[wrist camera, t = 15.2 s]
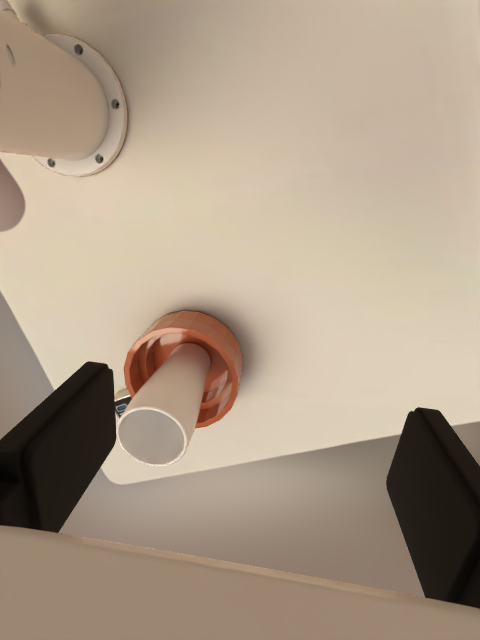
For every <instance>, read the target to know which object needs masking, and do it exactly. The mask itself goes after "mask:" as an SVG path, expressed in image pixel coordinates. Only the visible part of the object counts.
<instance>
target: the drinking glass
mask: <svg viewBox="0 0 480 640" xmlns="http://www.w3.org/2000/svg"><path fill="white" fill-rule="evenodd" d="M210 367H211V361H210V357H209V355H208V353H207V352H206V350H205V349H204V348H202V347H201V346H199V345H197V344H193V343H184V344H181V345H179V346H177V347H176V348H175V349H174V350H173V351H172V353H171V354H170V356H169V357H168V358H167V359H166V360H165V361H164V363H163V364H162V365H161V366H160V367H159V368H158V369H157V370H156V371H155V373H154V374H153V375H152V376H151V377H150V378H149V379H148V380H147V381H146V382H145V384H144V385H143V386H142V387H141V388H140V389H139V390H138V392H137V393H136V394H135V396H134V397H133V398H132V400H131V401H130V403H129V404H128V406H127V407H126V409H125V411H124V412H123V414H122V416H121V417H120V419H119V421H118V423H117V428H116V434H117V439H118V441H119V444H120V445H121V447H122V448H123V450H124V451H125V452H126V453H127V454H128V455H129V456H131V457H132V458H133V459H135V460H137V461H139V462H141V463H143V464H147V465H151V466H165V465H169V464H172V463H174V462H176V461H177V460H179V459H180V458H181V457H182V456H183V455H184V453H185V451H186V449H187V447H188V444H189V442H190V440H191V437H192V435H193V432H194V429H195V426H196V423H197V420H198V416H199V412H200V407H201V403H202V398H203V393H204V389H205V384H206V380H207V376H208V373H209V370H210Z"/></svg>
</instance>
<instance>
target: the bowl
mask: <svg viewBox="0 0 480 640" xmlns="http://www.w3.org/2000/svg"><path fill="white" fill-rule="evenodd" d="M184 343H193V344H197V345H199V346H201V347H202V348H204V349H205V350H206V352H207V353H208V355H209V357H210V361H211V367H210V370H209V373H208V376H207V380H206V384H205V389H204V393H203V398H202V403H201V407H200V412H199V416H198V420H197V423H196V426H195V428H200V427H206V426H209V425H211V424H213V423H215V422H217V421H219V420H220V419H222V418H223V416H224V415H225V414H226V413H227V412H228V411H229V410H230V409H231V408H232V406H233V404H234V401H235V399H236V397H237V394H238V389H239V385H240V380H241V375H242V366H243V356H242V352H241V349H240V346H239V343H238V341H237V339H236V338H235V337H234V335H233V334H232V332H231V331H230V329H229V328H227V327H226V326H225V325H223V324H222V323H221V322H219V321H218V320H217V319H215V318H213V317H211V316H208V315H205V314H203V313H200V312H192V311H179V312H175V313H171V314H167V315H165V316H163V317H162V318H160V319H159V320H157V321H156V322H154V323H153V324H152V325H151V326H150V327H149V328H148V329H147V330H146V331H145V333H144V334H143V335H142V336H141V337H140V338H139V339H138V340H137V341H136V343H135V344H134V345H133V347H132V348H131V349H130V351H129V352H128V354H127V358H126V362H125V365H124V374H125V383H126V386H127V389H128V391H129V393H130V396H131V398H133V397H134V396H135V394H136V393H137V392H138V390H139V389H140V388H141V387H142V386H143V385H144V384H145V382H146V381H147V380H148V379H149V378H150V377H151V376H152V375H153V374H154V373H155V371H156V370H157V369H158V368H159V367H160V366H161V365H162V364H163V363H164V361H165V360H166V359H167V358H168V357H169V356H170V354H171V353H172V351H173V350H174V349H175V348H176V347H177V346H179V345H181V344H184Z"/></svg>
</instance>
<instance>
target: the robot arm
mask: <svg viewBox="0 0 480 640" xmlns="http://www.w3.org/2000/svg"><path fill="white" fill-rule="evenodd" d="M82 51H83V53H82V54H81V52H82ZM117 104H119V108H117ZM126 130H127V106H126V101H125V96H124V93H123V90H122V88H121V85H120V82H119V80H118V78H117V77H116V75H115V73H114V71H113V69H112V68H111V67H110V65H109V64H108V63H107V62H106V60H105V59H104V58H103V57H102V56H101V55H100V54H99V53H97V52H96V51H95V50H94V49H93V48H91V47H90V46H88V45H87V44H86V43H84V42H82V41H80V40H78V39H76V38H74V37H72V36H67V35H63V34H46V35H43V36H41V35H40V34H38V33H37V32H35V31H33V30H32V29H30V27H29V26H28V25H27V24H25V23H21V22H20V20H19V19H18V17H17V15H16V13H15V11H14V10H13V8H12V7H11V5H10V4H9V3H8V1H7V0H0V152H7V153H15V154H22V155H30V156H32V157H33V158H34V159H35V160H37V161H38V162H39V163H40V164H41V165H43V166H44V167H46V168H48V169H50V170H51V171H53V172H56V173H59V174H62V175H67V176H74V177H83V176H89V175H93V174H95V173H98V172H100V171H102V170H103V169H105V168H106V167H107V166H109V165H110V164H111V163H112V161H113V160H114V159H115V158H116V157H117V155H118V153H119V151H120V150H121V148H122V146H123V142H124V139H125V136H126ZM102 157H103V162H102V160H101V158H102ZM115 441H116V418H115V399H114V380H113V371H112V369H109V368H108V365H107V364H104V363H97V362H86V363H85V364H84V365H83V366H82V367H81V368H80V369H78V370H77V371H76V372H75V373H74V374H73V375H72V376H71V377H70V378H68V379H67V380H66V381H65V382H64V383H63V384H62V385H61V386H60V387H58V388H57V389H56V390H55V391H54V392H53V393H52V394H51V395H50V396H48V398H46V399H45V400H44V401H43V402H42V403H41V404H40V405H38V406H37V407H36V408H35V409H34V410H33V411H32V412H31V413H30V414H28V415H27V416H26V417H25V418H24V419H23V420H22V421H21V422H19V423H18V424H17V425H16V426H15V427H14V428H13V429H12V430H11V431H10V432H8V433H7V434H6V435H5V436H4V437H3V438H2V439H1V440H0V640H480V466H479V465H478V463H477V462H476V461H475V459H474V458H473V457H472V455H471V454H470V452H469V451H468V450H467V448H466V447H465V445H464V444H463V443H462V441H461V440H460V439H459V437H458V436H457V434H456V433H455V432H454V430H453V429H452V427H451V426H450V425H449V423H448V422H447V420H446V419H445V418H444V416H443V415H442V413H441V412H440V411H438V410H434V409H427V408H419V407H418V408H416V409H415V411H414V412H413V411H411V412H409V414H408V416H407V419H406V422H405V425H404V428H403V431H402V434H401V437H400V440H399V443H398V446H397V449H396V452H395V455H394V458H393V461H392V464H391V467H390V470H389V473H388V476H387V481H386V485H387V490H388V493H389V496H390V499H391V502H392V505H393V507H394V510H395V513H396V516H397V519H398V522H399V524H400V527H401V530H402V533H403V536H404V538H405V541H406V544H407V547H408V550H409V552H410V555H411V558H412V561H413V564H414V566H415V569H416V572H417V575H418V578H419V581H420V583H421V586H422V589H423V592H424V595H425V597H420V596H415V595H410V594H405V593H399V592H394V591H388V590H383V589H377V588H372V587H366V586H361V585H355V584H350V583H344V582H339V581H333V580H328V579H322V578H317V577H311V576H306V575H300V574H295V573H289V572H283V571H278V570H272V569H267V568H261V567H255V566H250V565H244V564H238V563H232V562H227V561H221V560H215V559H210V558H204V557H198V556H192V555H187V554H181V553H175V552H169V551H164V550H158V549H152V548H146V547H140V546H134V545H128V544H122V543H116V542H110V541H104V540H98V539H93V538H87V537H81V536H74V535H67V534H61V533H58V532H59V531H60V529H61V527H62V526H63V525H64V523H65V521H66V520H67V518H68V517H69V515H70V514H71V512H72V510H73V509H74V507H75V506H76V504H77V503H78V501H79V500H80V498H81V497H82V495H83V493H84V492H85V490H86V489H87V487H88V486H89V484H90V483H91V481H92V479H93V478H94V476H95V475H96V473H97V472H98V470H99V469H100V467H101V466H102V464H103V462H104V461H105V459H106V458H107V456H108V455H109V453H110V452H111V450H112V448H113V447H114V444H115Z"/></svg>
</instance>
